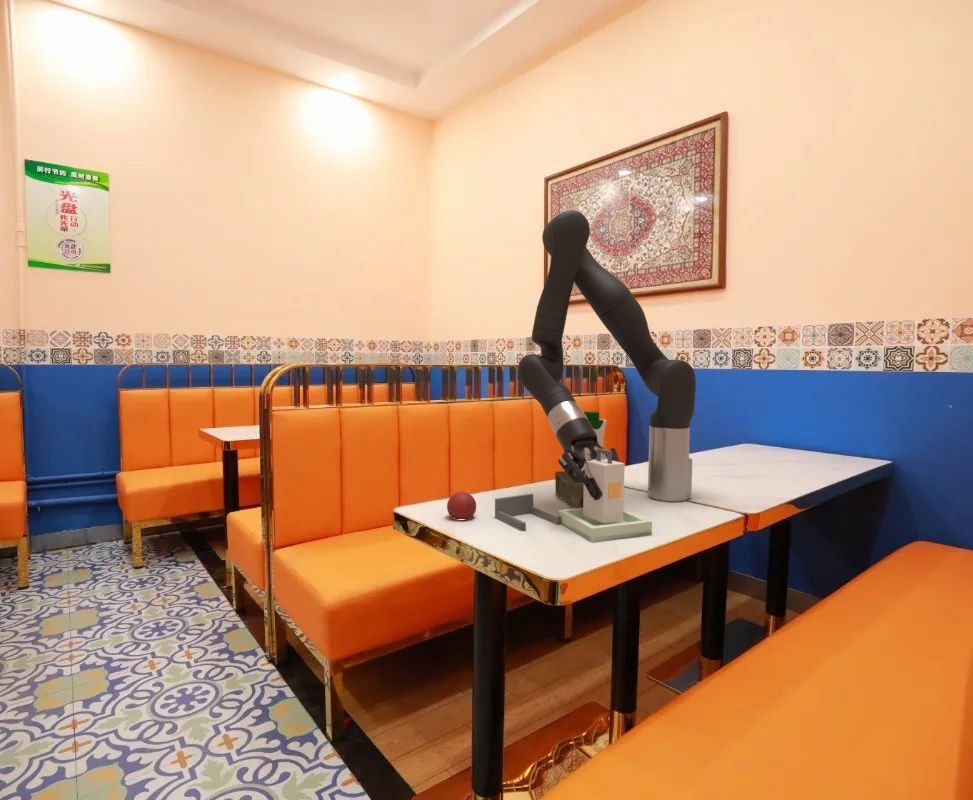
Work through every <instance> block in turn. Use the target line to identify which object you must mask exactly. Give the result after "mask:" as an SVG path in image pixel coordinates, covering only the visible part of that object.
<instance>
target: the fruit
mask: <svg viewBox="0 0 973 800" xmlns="http://www.w3.org/2000/svg"><path fill="white" fill-rule="evenodd" d="M446 510H447V513H448V514H449V516H450V517H451V518H452V519H453V518H455V519H469V518H471V519H472V517H473V516H474V515H475V513H476V510H477V502H476V499H475V498H474V496H473V495H472V494H471V493H469V492H467V491H457V492H454V493H453V494H452V495H451V496H450V497H449V498H448V500H447V503H446ZM469 520H470V519H469Z"/></svg>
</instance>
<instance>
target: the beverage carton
mask: <svg viewBox="0 0 973 800" xmlns="http://www.w3.org/2000/svg"><path fill="white" fill-rule="evenodd" d="M573 472H574V473H575V471H573ZM575 475H576V473H575ZM554 479H555V480H554V481H555V494H556V495H557V497H559V498H560V499H561V500H563V501H565V502H566V503H567V504H569V505H570V506H571V507H573V509H574V508H583V494H584V485H583V484H582V483H581V482H578V483H574V482H573V480H572V479H571V478H570V477H569V475H568V474H567V473H566V471H565V470H563V471H556V472H555V477H554Z"/></svg>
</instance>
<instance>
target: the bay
mask: <svg viewBox="0 0 973 800" xmlns="http://www.w3.org/2000/svg"><path fill="white" fill-rule="evenodd" d="M525 514H532V515H534V516H536V517H539V518H541V519H543V520H546V521H548V522H551V523H553V524H555V525H561V523H560V518H561V517H560V516H558V514H555V513H552V512H551V511H548V510H544V509H542V508H540V507H538V506H535V505H534V493H526V494H519V495H510V496H505V497H497V498H494V518H496V519H497V520H500V521H501V522H503V523H505V524H508V525H510V526H511V527H513V528H516V529H518V530H519V531H522V532H524V531H526V530H527V524H526V523H527V522H525V521H523V520H521V519H519V518H517V517H514V516H519V515H525Z"/></svg>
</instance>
